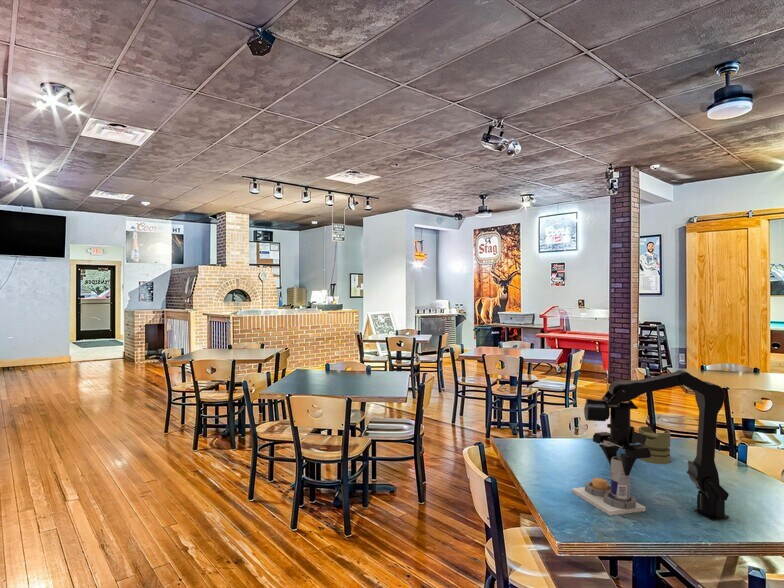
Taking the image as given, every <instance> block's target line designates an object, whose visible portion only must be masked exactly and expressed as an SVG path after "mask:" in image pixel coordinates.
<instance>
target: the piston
mask: <svg viewBox="0 0 784 588" xmlns="http://www.w3.org/2000/svg"><path fill="white" fill-rule="evenodd" d="M651 428H652V427H651V426H645V425H644V426H640V427H638V433H640V434H643V435H646V436H647V438H646V442H645V445H642V444H640V443H639V444H640V445H642V446H645V447H648V448H649V449H650V450H651V457H650V458H640V459H639V460H641V461H643V462H646V463H648V464H649V463H650V464H655V465H667V464H670V463H671V449H670V447H671V431H670V430H669V429H664V432H663V433H655V432H654V431H653V430H652V429H651Z"/></svg>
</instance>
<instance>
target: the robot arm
mask: <svg viewBox="0 0 784 588" xmlns="http://www.w3.org/2000/svg"><path fill="white" fill-rule="evenodd" d="M680 386H684V387H686V388H687V389H689V390H692V391H693V392H694V397H695V402H696V405H697V408H698V427H697V437H696V438H697V442H696V454H695V458H694V459H693V461H692V460H688V461H687V466H688V469H687V471H686V474H687V475H688V477H689V479H690V480H691V482H692V484H695V487H696V489H698V490H697V495H696V508H694V509H693V512H695V513H697V514H699V515H701V516H703V517H705V518H707V519H709V520H711V521H717V520H724V519H730V516H729V515H727V514H726V511H725V510H726V507H725V506H726V504H725V503H726V501H727V500H728V499H729V498H728V497H729V495H730V493H728V491H726V490H725V488H723V486H722V485H720V478H719V477H720V476H719V475H720V474H719V472H718V471H719V470H718V469H717V464H716V463H715V462H716V461H715V458H716V457H715V456H716V455H715V454H716V442H717V440H716V439H717V426H718V414H719V413H720V411H721V409H722V408H723V406H724V402H725V398H726V392H725V390H724V389H723V387H721V386H720V385H718V384H715V383H712V382H710V381H706V380H705V381H704V380H701V379H699V378H698V377H696V376H693V375H692V374H691V373H689V372H687V371H685V370H676V371H673V372H669V373H665V374H659V375H657V376H650V377H645V378H641V379H635V380H633V379H629V380H628V379H624V380H621V379H620V380H613V381H612V382H610V384H609V386H608V390H607V391H606V392H605V394H604V395H603V396H602V397H601V399H598V398H597V399H596V398H595V399H593V398H588V397H587V398H586V399H585V402H584V403H585V404H584V408H583V414H584V418H585V421H589V422H606V421H608V419H609V421H610V422H609V423H607V426H606V427H607V428H608V429H609V430H610V431H609V432H608V431H603V432H601V431H600V432H594V434H592V442H593V443H596V444H599V447H600V448H601V450H602V452H603V453H604V455H605V458H606V459H607V461H608V463H609V466H610V467H611V459H612V457H613V456H618V455H617V454H618V451H619V449H623V450H624V453H620V455H619V456H621V460H622V464H623V469H624V473H625V475H626V476H629V474H630V475H631V471H632V469H633V467H634V464H635V463H636V460H638V459H639V460H641V459H640V458H650V457H651V450H650V449H649V448H648V447H645V446H642V445H645V442H646V438H647V436H646V435H643V434H640V433H639V432H638V431H635V427H634V426H633V425H631V410H638V409H639V407H638V406H637V405H636V404H635V403H634V401H633V400H634V399H637V398H639V397H640V396H642V395H644V394H647V393H653V392H657V391H662V390H666V389H670V388H676V387H680ZM640 444H642V445H640Z"/></svg>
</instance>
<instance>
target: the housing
mask: <svg viewBox="0 0 784 588" xmlns="http://www.w3.org/2000/svg"><path fill="white" fill-rule="evenodd" d="M571 493H572V494H574V495H576V496H578V497H579V498H581V499H582V500H584V501H585V502H587V503H589V504H590V505H592V506H594V507H595V508H596V509H598V510H600V511H601V512H603V513H605V514H606V513H607V514H606V515H608V516H616V515H624V514H633V512H634V513H642V512H646V506H644V505H643V504H640V503H638V502H637V498H636V497H635V496H633V495H631V494H630V499H628V500H618V499H615V498H613V497H612V496H611V483H608V480H606V479H604V478H601V477H593V478H592V480H590V481H588V480H587V481H585V483H584V486H583V487H572V488H571ZM641 511H642V512H641Z"/></svg>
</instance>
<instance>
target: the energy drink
mask: <svg viewBox="0 0 784 588" xmlns="http://www.w3.org/2000/svg"><path fill="white" fill-rule="evenodd" d="M610 485H611V496H612V497H613V498H615V499H618V500H628V499H630V495H631V473H630V474H629V476H626V475H625V473H624V469H623V464H622V460H621V455H617V456H613V457H612V459H611V466H610Z"/></svg>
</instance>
